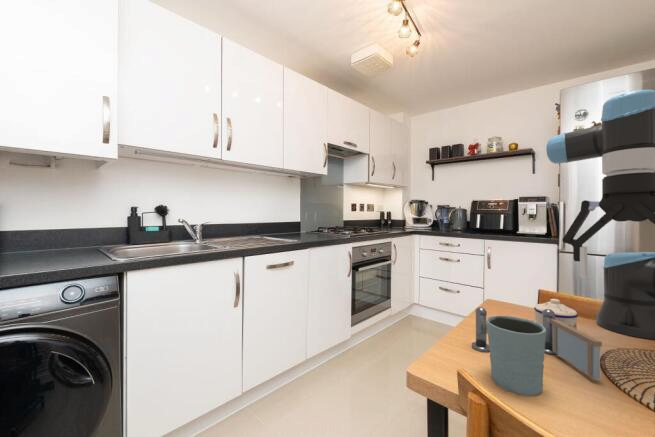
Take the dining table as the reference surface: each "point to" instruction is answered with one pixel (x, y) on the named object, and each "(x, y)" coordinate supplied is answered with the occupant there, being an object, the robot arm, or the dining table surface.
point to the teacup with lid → (556, 313)
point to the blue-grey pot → (517, 354)
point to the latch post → (481, 331)
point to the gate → (577, 348)
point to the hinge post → (548, 330)
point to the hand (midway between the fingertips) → (629, 283)
